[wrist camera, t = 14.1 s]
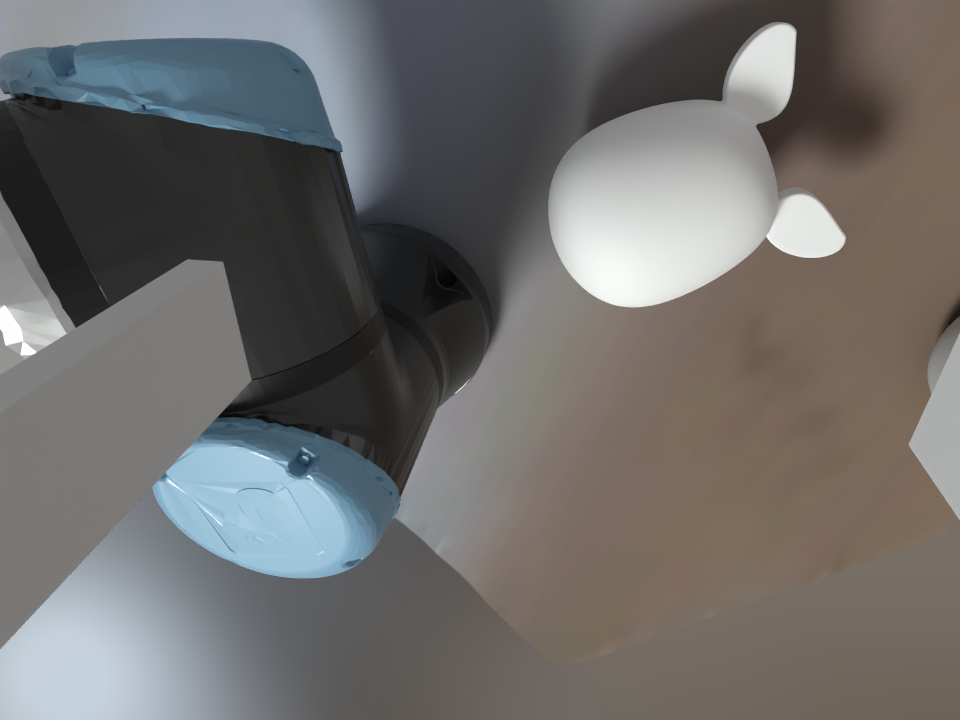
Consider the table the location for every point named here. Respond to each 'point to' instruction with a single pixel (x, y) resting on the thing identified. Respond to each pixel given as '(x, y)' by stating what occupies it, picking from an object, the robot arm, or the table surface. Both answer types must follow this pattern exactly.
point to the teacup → (942, 352)
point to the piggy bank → (685, 188)
